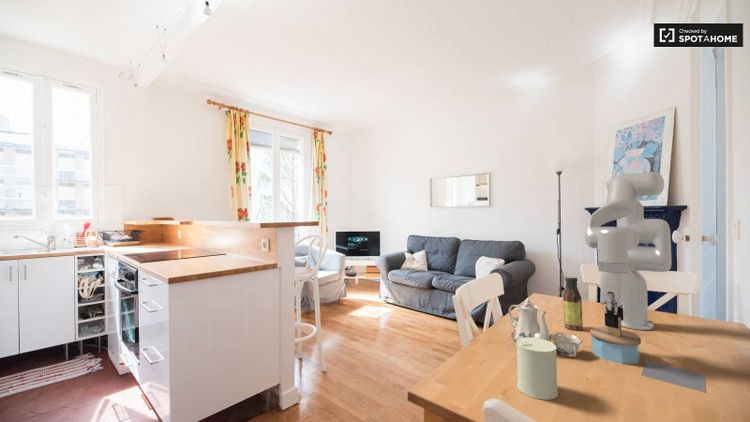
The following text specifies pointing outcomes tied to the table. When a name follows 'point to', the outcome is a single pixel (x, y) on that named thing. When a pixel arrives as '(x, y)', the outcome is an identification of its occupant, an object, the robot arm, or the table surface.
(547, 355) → the can
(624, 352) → the bowl
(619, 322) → the lid
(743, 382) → the table surface
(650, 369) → the mat
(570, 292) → the sauce bottle
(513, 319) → the chinaware
